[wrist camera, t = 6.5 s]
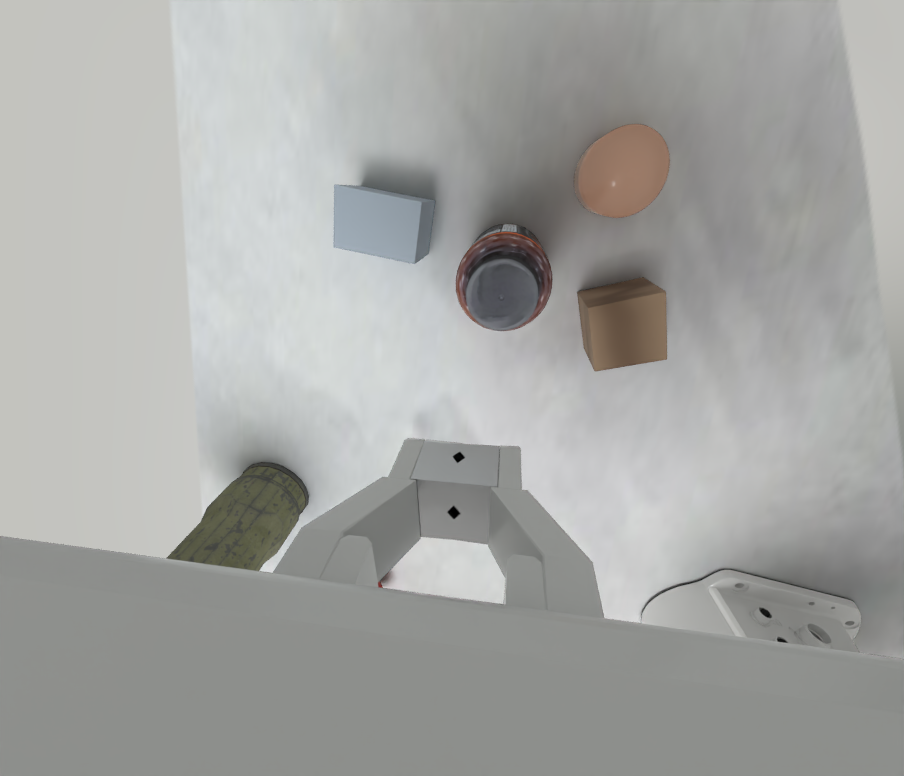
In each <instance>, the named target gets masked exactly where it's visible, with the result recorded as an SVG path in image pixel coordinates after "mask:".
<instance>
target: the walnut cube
mask: <svg viewBox="0 0 904 776" xmlns="http://www.w3.org/2000/svg"><path fill="white" fill-rule="evenodd" d="M577 294H578V303H579V311H580V320H581V328H582V337H583V345H584V349H585V351H586V354H587V356H588V358H589V360H590V362H591V364H592V367H593V369H594V371H600V370H606V369H612V368H618V367H624V366H630V365H636V364H642V363H648V362H654V361H660V360H666V359H667V325H666V291H664V290H662V289H661V288H659V287H658V286H656V285H655V284H653V283H651V282H650V281H648V280H647V279H645V278H644V277H642V278H638V279H633V280H628V281H624V282H619V283H615V284H610V285H606V286H601V287H597V288H592V289H588V290H583V291H579V292H577Z"/></svg>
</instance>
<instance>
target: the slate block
mask: <svg viewBox="0 0 904 776" xmlns="http://www.w3.org/2000/svg"><path fill="white" fill-rule="evenodd" d="M434 208H435V200H429V199H424V198H419V197H414V196H409V195H404V194H399V193H394V192H389V191H384V190H379V189H374V188H369V187H364V186H352V185H334V247H335V248H340V249H344V250H349V251H354V252H359V253H364V254H368V255H373V256H378V257H383V258H388V259H393V260H397V261H402V262H407V263H412V264H415V263H417V262H418V261H419V260H421V259H422V258H424V257H425V256H426V255H428V253H429V245H430V238H431V230H432V223H433V215H434Z"/></svg>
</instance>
